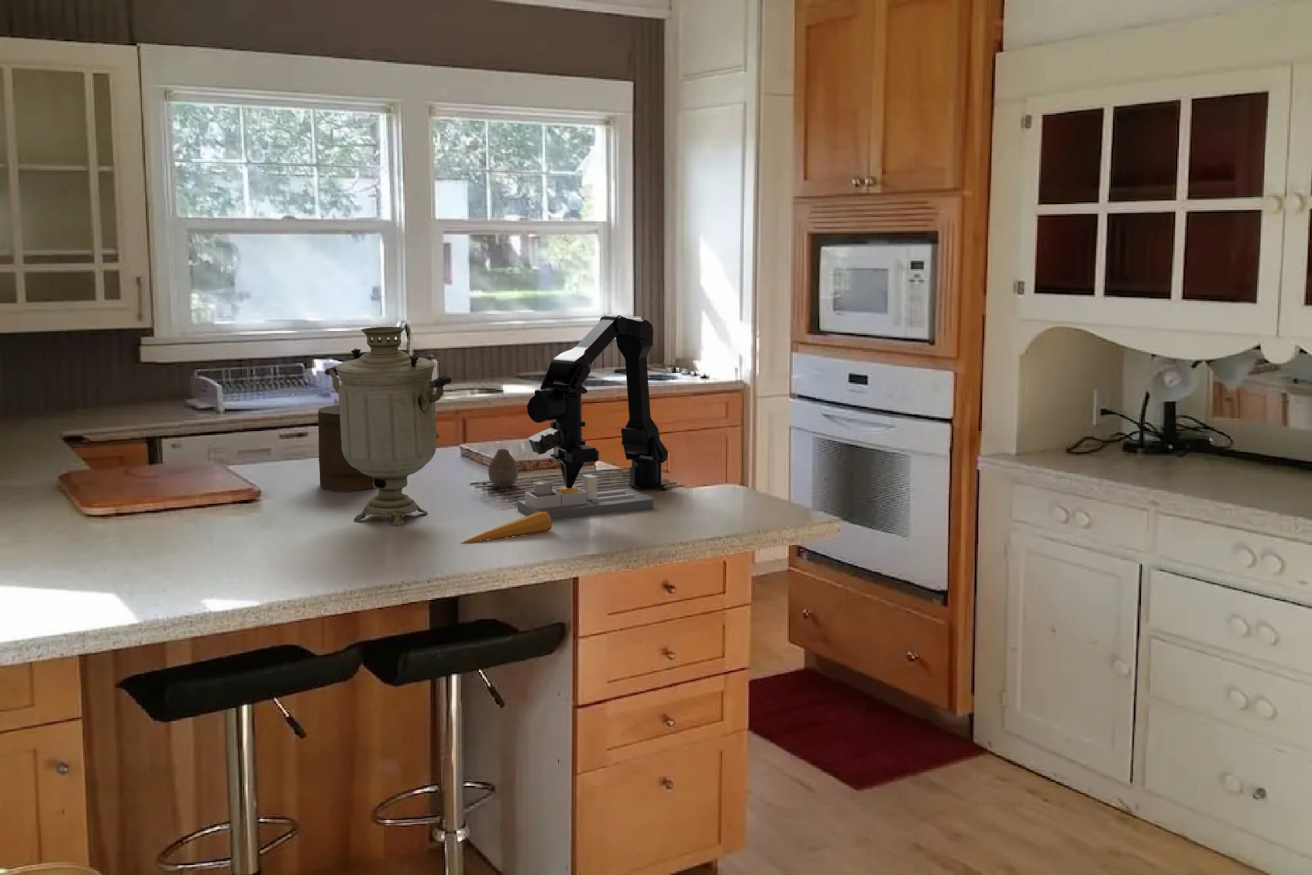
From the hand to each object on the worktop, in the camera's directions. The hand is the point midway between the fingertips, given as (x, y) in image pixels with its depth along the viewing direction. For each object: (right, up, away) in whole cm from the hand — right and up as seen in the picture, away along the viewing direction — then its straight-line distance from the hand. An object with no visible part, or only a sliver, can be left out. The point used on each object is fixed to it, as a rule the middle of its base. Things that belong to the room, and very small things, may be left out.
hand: (568, 487), depth 270 cm
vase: (-17, -1, +24) cm, 30 cm away
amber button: (0, -3, +1) cm, 3 cm away
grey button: (-5, -2, -2) cm, 6 cm away
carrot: (-11, -9, -20) cm, 25 cm away
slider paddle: (+4, -2, +3) cm, 6 cm away
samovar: (-35, -6, -4) cm, 36 cm away
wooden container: (-53, 0, +26) cm, 59 cm away
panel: (+4, -5, +3) cm, 6 cm away
